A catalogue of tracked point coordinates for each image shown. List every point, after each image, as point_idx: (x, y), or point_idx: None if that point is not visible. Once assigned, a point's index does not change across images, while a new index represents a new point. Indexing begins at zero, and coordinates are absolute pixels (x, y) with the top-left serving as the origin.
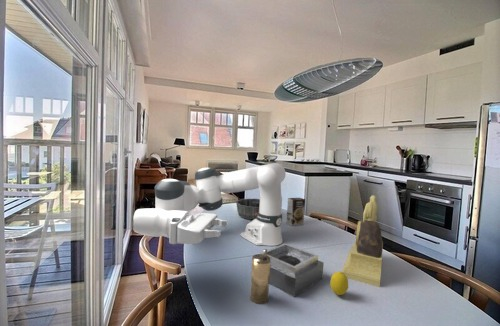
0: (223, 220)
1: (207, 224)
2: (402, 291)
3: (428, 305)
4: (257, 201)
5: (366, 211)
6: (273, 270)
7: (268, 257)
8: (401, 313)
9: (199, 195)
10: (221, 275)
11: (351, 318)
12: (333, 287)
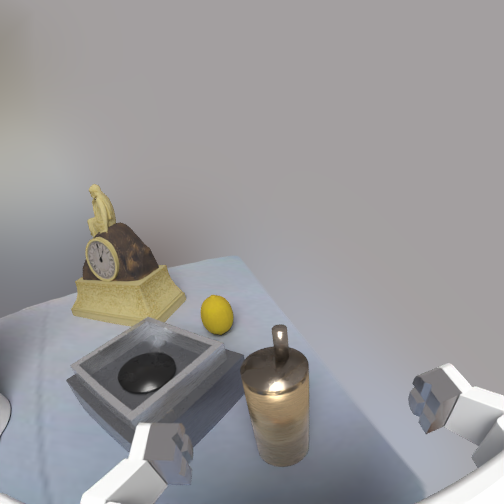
0: (131, 450)
1: (439, 492)
2: (194, 286)
3: (222, 275)
4: None
5: (105, 210)
6: (199, 403)
7: (261, 352)
8: (247, 289)
9: None
10: None
11: (282, 321)
12: (227, 323)
